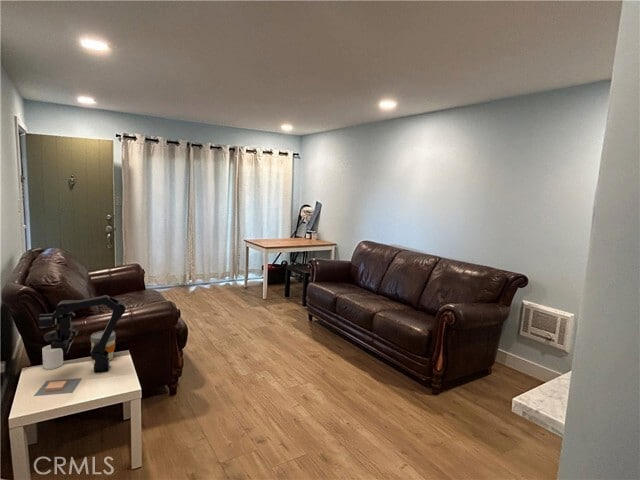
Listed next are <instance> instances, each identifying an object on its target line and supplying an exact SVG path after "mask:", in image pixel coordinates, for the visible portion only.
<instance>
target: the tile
mask: <svg viewBox="0 0 640 480" xmlns="http://www.w3.org/2000/svg"><path fill="white" fill-rule="evenodd" d="M66 384H67V381H57V382H50V383H49V384H48V386H47V387H46V388H45V392H47V391H59V390H63V388H64V387H65V386H66Z"/></svg>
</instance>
